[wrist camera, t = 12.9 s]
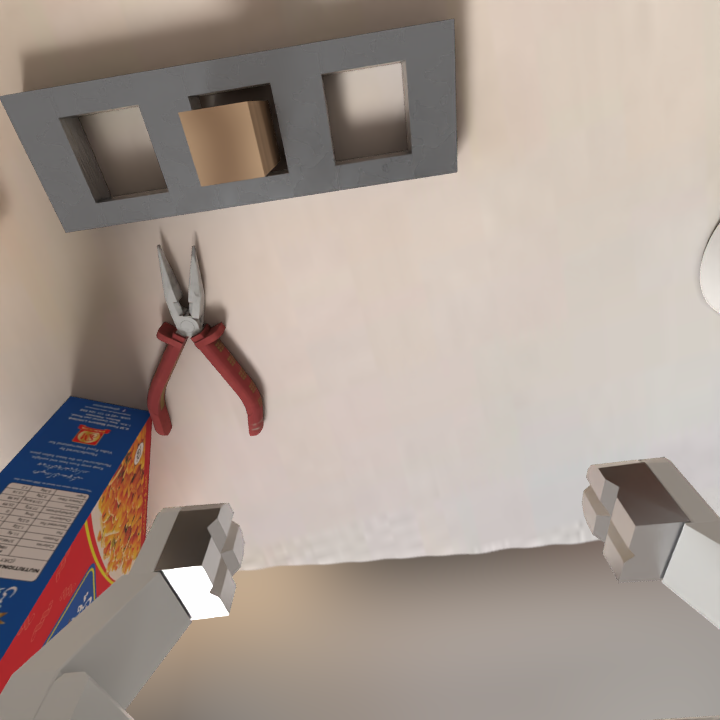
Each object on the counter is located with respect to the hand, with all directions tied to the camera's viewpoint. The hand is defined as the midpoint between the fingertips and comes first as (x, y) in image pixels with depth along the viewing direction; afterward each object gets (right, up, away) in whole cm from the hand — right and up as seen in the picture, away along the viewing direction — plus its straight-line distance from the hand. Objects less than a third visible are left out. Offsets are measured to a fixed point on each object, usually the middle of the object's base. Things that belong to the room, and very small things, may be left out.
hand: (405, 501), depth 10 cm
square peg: (-9, +20, +22) cm, 32 cm away
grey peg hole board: (-9, +20, +22) cm, 31 cm away
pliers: (-15, +4, +33) cm, 36 cm away
